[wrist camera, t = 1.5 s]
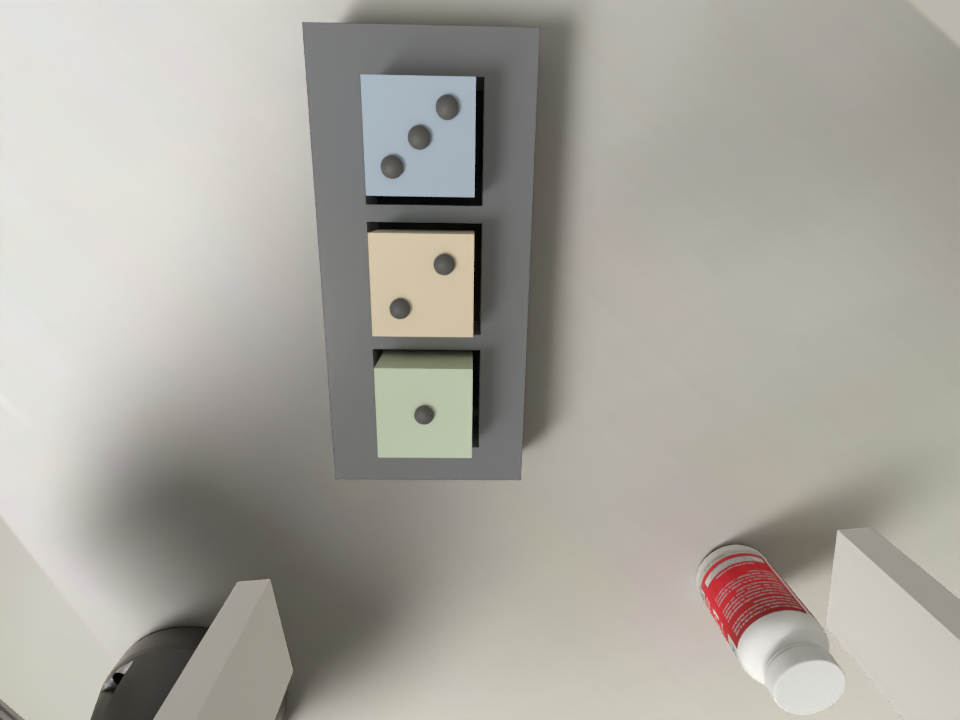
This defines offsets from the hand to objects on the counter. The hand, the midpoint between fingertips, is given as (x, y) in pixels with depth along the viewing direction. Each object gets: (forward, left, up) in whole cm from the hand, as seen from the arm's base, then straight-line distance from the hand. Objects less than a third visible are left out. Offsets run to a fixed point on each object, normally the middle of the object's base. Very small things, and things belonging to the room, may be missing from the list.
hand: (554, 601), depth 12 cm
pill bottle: (+20, -21, -27) cm, 40 cm away
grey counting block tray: (-5, +4, -27) cm, 28 cm away
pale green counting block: (-5, -4, -24) cm, 25 cm away
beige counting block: (-5, +4, -24) cm, 25 cm away
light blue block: (-5, +12, -24) cm, 28 cm away
